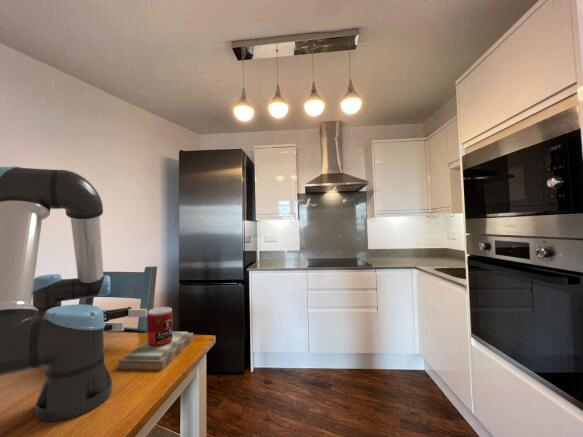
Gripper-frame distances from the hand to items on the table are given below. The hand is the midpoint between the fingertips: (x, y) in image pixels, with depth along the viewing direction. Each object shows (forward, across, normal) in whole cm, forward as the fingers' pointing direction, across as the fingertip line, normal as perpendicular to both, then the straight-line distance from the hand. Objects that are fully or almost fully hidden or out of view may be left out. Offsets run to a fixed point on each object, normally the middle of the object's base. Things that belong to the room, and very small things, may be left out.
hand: (135, 319), depth 95 cm
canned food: (+8, 0, -8) cm, 12 cm away
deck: (+8, 0, -12) cm, 14 cm away
